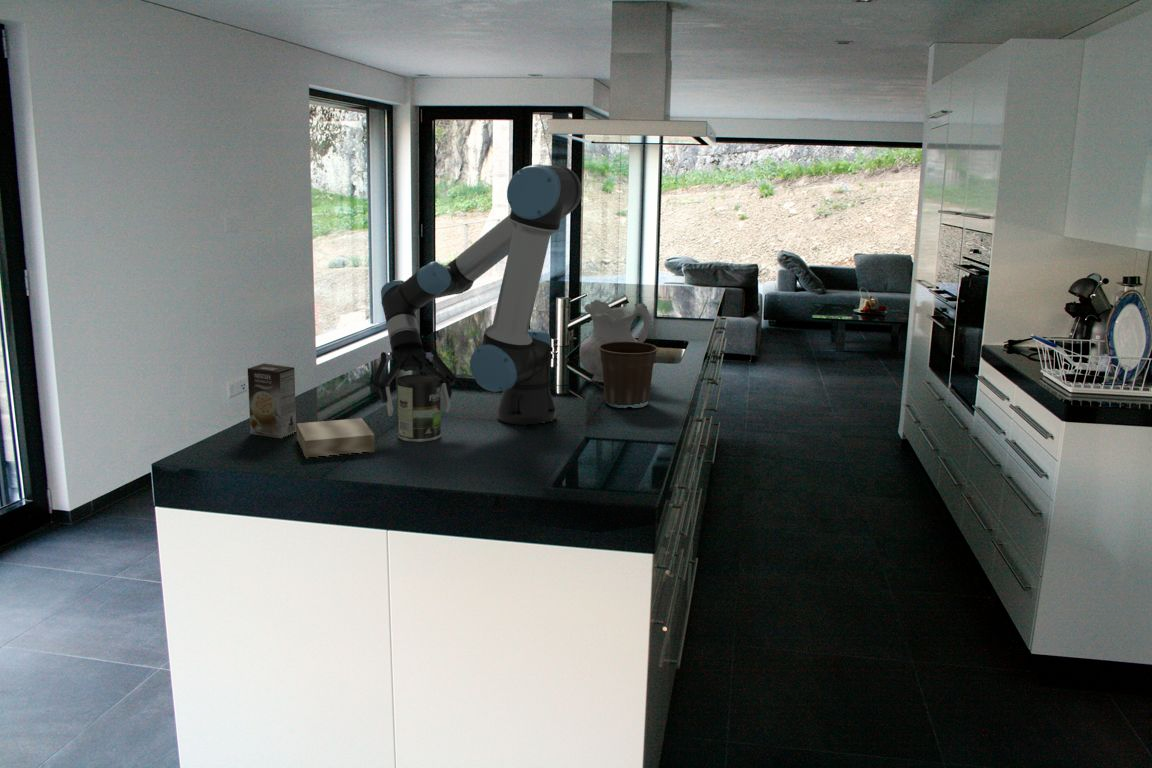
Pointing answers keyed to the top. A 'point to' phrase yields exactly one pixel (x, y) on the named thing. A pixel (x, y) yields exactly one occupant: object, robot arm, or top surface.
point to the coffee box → (272, 400)
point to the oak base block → (335, 437)
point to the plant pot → (627, 371)
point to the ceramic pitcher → (609, 332)
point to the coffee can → (419, 407)
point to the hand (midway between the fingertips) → (420, 411)
